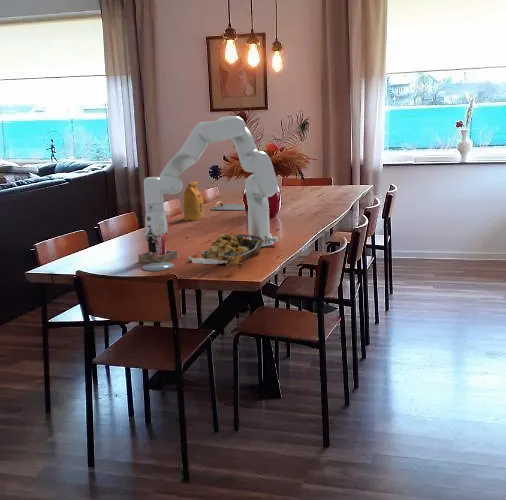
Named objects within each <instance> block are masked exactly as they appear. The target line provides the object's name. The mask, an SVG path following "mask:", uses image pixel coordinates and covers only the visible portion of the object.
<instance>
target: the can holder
mask: <svg viewBox="0 0 506 500" xmlns="http://www.w3.org/2000/svg"><path fill="white" fill-rule="evenodd" d="M177 258H178V252H177V250H167V249H166V254H165V255H162V256H155V255H149V250H148V251H146V252H143V253H140V254H138V262H139V263H146V264H149V263H156V262H168V263H169V262H171V261H173V260H175V259H177Z"/></svg>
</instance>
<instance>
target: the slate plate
mask: <svg viewBox="0 0 506 500" xmlns="http://www.w3.org/2000/svg"><path fill="white" fill-rule="evenodd" d="M173 268H174V263H172V262H169V261H168V262H156V263H146V264H143V265H142V270H144V271H146V272H163V271H168V270H170V269H173Z"/></svg>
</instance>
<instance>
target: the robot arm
mask: <svg viewBox="0 0 506 500" xmlns="http://www.w3.org/2000/svg"><path fill="white" fill-rule="evenodd" d="M226 140H227V141H228V140H231V141H232V143H233V144H234V147H235V150H236V153H237V157H238V159H239V163H240V165H241V168H242V170H244V172H246V173H252V174H250V175H249V176H248V177H247V178H245V179H246V180H245V182H244V190H245V195H246V196H245V197H246V203H247V205H248V211H247V226H248V227H247V228H248V230H247V231H248V232H247V233H248V235H252V236H257V237H261V238H263V239H264V242H263V243H262V244H261V247H269V246H273V245H274V242H276V243H278V242H279V238H278V236H273V234H272V233H270V229H271V228H270V208H269V198H271V197H273V196H274V195H275V194H276V193H277V192H278V185H279V183H278V179H277V176H276V172H275V169H274V165H273V163H272V159H271V158H270V156H269V155H268V154H267V152H264V151H261V150H258V149H257V146H256V142H255V141H254V138H253V135H252V133H251V131H250V130H249V128H248V127H247V126H246V121H244V119H243V118H241V117H240V116H235V115H234V116H233V115H230V116H229V115H228V116H222V117H219V118H218V119H217V120H210V121H201V122H198V123H196V125H194V127H193V129H192V131H191V132H190V134H189V135H188V136H187V139H186V140H185V142H184V144H183V145H182V146H181V148H180V149H179V151H177V153H176V154H175V155H174V156H172V158H170V160H169V161H168V162H167V163H166V165H165V166H164V167H163V170H161V172H160V174H159V176H149V177H145V178H143V190H144V191H143V193H144V207H145V219H144V220H145V232H144V234H143V236H144V238H145V239H146V242H147V244H148V245H147V246H148V251H149V252H156V243H155V242H154V241H155V236H159V235H161V234H162V233H164V234H165V240H166V239H167V234H168V228H169V227H168V220H167V214H166V210H165V204H164V195H165V194H166V195H176V194H179V193H180V192H181V191H182V190H183V187H184V183H183V180H182V179H181V178H180V176H181V175H182V173H183V172H184V171H185V170H186V169H188V168H190V167H192V166H193V165H195V164H196V163H197V162H198V161H199V160H200V158H201V156H203V153H204V152H205V150H206V148H207V147H208V145H209V144H211V143H212V144H213V143H219V142H222V141H226ZM161 232H162V233H161ZM151 234H153V235H151ZM151 237H153V238H151ZM248 238H249V240H252V238H251V237H248ZM255 239H256V240H258V239H257V238H254V240H255Z"/></svg>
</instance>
